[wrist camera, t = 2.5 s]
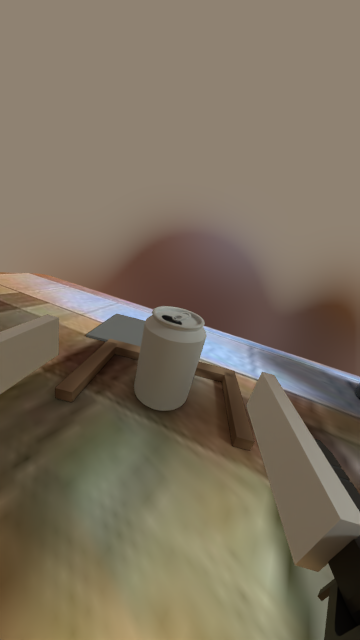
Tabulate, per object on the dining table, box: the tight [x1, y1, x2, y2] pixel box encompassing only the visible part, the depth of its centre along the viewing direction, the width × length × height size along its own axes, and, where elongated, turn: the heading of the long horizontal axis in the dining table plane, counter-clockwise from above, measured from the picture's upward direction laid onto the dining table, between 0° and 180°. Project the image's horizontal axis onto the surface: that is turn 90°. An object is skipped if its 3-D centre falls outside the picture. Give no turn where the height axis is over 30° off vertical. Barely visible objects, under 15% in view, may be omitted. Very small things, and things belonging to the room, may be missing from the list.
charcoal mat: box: [86, 314, 145, 347], centre depth 40 cm, size 13×13×1 cm
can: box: [134, 306, 206, 411], centre depth 23 cm, size 8×8×12 cm
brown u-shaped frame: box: [55, 339, 255, 451], centre depth 26 cm, size 23×13×2 cm, turn 83°
